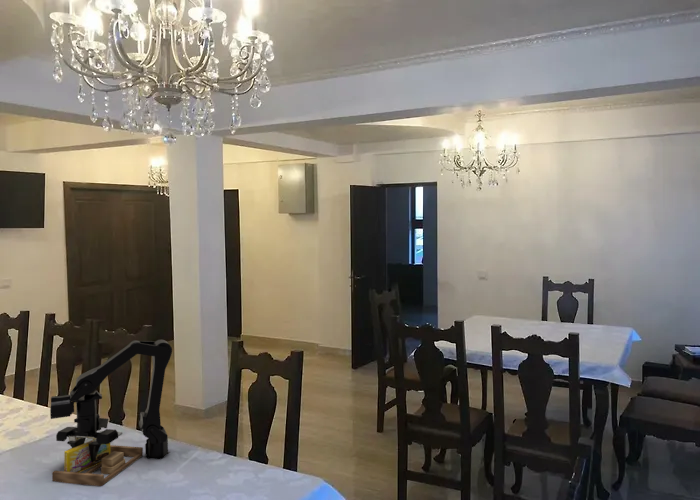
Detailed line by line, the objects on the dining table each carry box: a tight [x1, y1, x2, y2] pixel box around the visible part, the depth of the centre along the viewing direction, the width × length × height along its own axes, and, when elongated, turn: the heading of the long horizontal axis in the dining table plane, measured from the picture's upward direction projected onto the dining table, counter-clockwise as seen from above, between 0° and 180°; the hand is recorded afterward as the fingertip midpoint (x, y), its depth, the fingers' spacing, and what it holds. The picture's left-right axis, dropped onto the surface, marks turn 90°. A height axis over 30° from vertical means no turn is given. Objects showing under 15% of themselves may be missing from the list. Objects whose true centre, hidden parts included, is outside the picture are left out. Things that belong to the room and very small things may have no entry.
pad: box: [69, 430, 123, 449], centre depth 203 cm, size 9×18×1 cm, turn 169°
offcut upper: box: [102, 451, 125, 467], centre depth 179 cm, size 4×6×2 cm, turn 166°
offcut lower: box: [100, 458, 126, 475], centre depth 179 cm, size 4×7×2 cm, turn 170°
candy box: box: [63, 440, 111, 473], centre depth 181 cm, size 16×2×8 cm, turn 154°
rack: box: [51, 444, 144, 487], centre depth 180 cm, size 17×22×3 cm
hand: (88, 461), depth 181 cm, fingers open, 4 cm apart
